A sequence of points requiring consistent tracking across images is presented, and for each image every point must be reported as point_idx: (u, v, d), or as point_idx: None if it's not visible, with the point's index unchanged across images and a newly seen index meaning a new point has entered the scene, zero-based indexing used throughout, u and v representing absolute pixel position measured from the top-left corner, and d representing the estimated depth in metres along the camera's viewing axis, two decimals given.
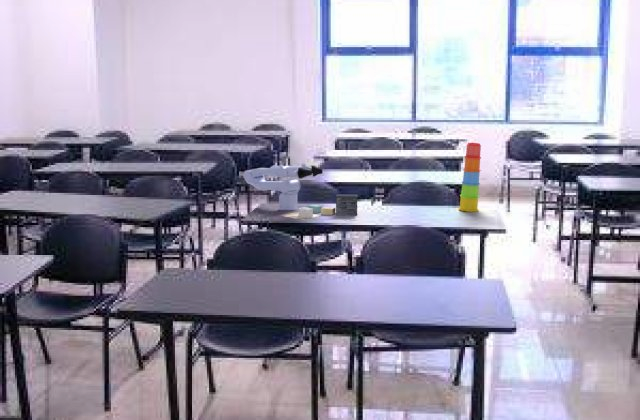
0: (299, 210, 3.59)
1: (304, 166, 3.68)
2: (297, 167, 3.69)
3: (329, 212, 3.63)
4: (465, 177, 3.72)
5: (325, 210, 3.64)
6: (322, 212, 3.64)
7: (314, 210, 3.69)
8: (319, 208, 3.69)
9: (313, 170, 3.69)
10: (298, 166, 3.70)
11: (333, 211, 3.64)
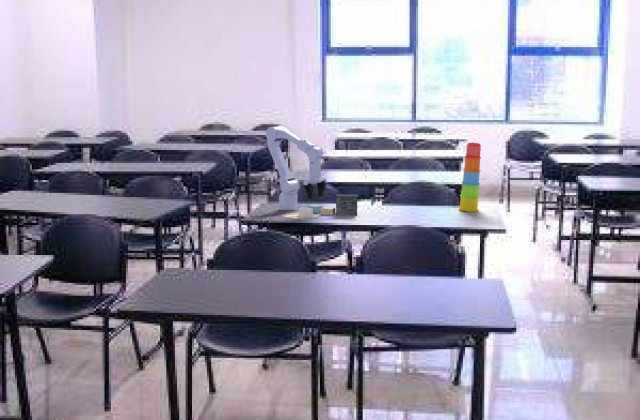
0: (299, 210, 3.59)
1: None
2: (316, 175, 3.65)
3: (329, 212, 3.63)
4: (465, 177, 3.72)
5: (325, 210, 3.63)
6: (322, 212, 3.64)
7: (314, 210, 3.69)
8: (319, 208, 3.69)
9: (320, 185, 3.71)
10: (318, 174, 3.66)
11: (333, 211, 3.64)
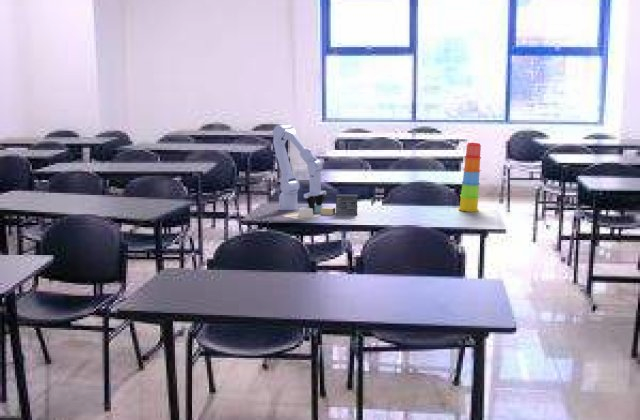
0: (299, 210, 3.59)
1: (319, 194, 3.68)
2: (316, 188, 3.66)
3: (329, 212, 3.63)
4: (465, 177, 3.72)
5: (325, 210, 3.63)
6: (322, 212, 3.64)
7: (314, 209, 3.69)
8: (319, 208, 3.69)
9: (318, 198, 3.72)
10: (318, 187, 3.67)
11: (333, 211, 3.64)
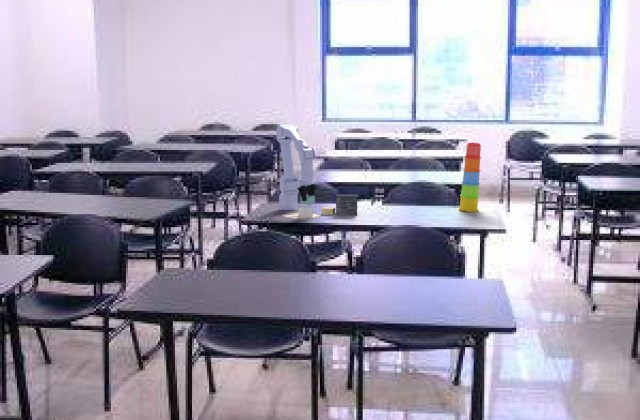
0: (299, 210, 3.59)
1: (311, 183, 3.57)
2: (308, 177, 3.55)
3: (329, 212, 3.63)
4: (465, 177, 3.72)
5: (325, 210, 3.63)
6: (322, 212, 3.64)
7: (306, 200, 3.57)
8: (312, 198, 3.58)
9: (310, 188, 3.60)
10: (310, 176, 3.55)
11: (333, 211, 3.64)
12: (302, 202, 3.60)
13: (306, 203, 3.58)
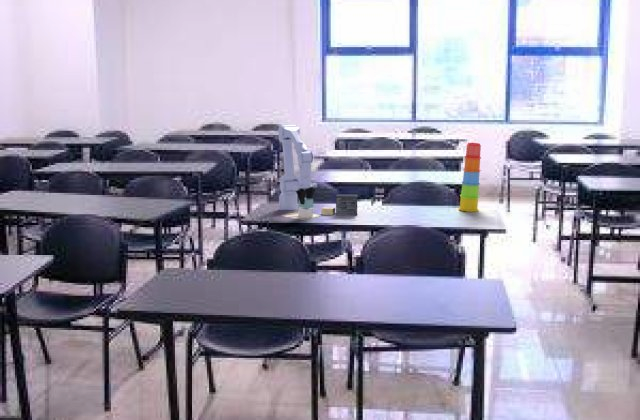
0: (299, 210, 3.59)
1: (309, 187, 3.55)
2: (306, 180, 3.53)
3: (329, 212, 3.63)
4: (465, 177, 3.72)
5: (325, 210, 3.63)
6: (322, 212, 3.64)
7: (304, 203, 3.56)
8: (310, 201, 3.56)
9: (309, 191, 3.59)
10: (308, 179, 3.54)
11: (333, 211, 3.64)
12: (300, 205, 3.58)
13: (304, 206, 3.56)
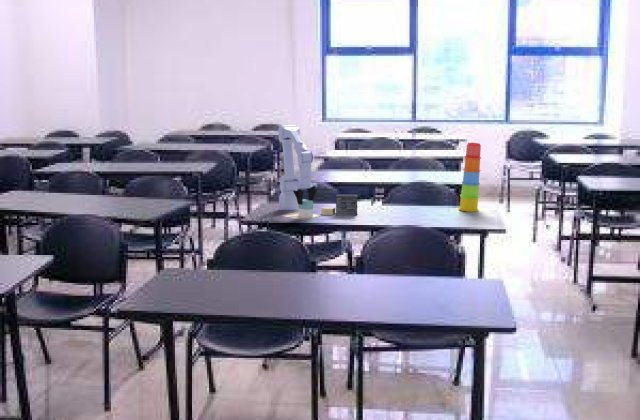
0: (299, 210, 3.59)
1: (309, 187, 3.55)
2: (306, 180, 3.53)
3: (329, 212, 3.63)
4: (465, 177, 3.72)
5: (325, 210, 3.63)
6: (322, 212, 3.64)
7: (304, 205, 3.56)
8: (310, 203, 3.56)
9: (311, 190, 3.60)
10: (308, 179, 3.54)
11: (333, 211, 3.64)
12: (300, 207, 3.58)
13: (304, 208, 3.56)
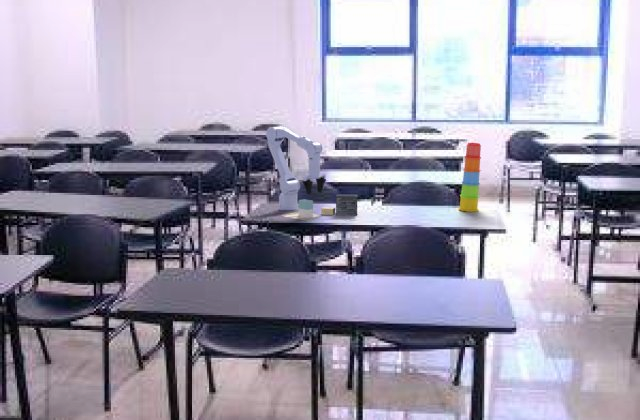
0: (299, 210, 3.59)
1: None
2: (315, 170, 3.63)
3: (330, 212, 3.63)
4: (465, 177, 3.72)
5: (325, 210, 3.63)
6: (322, 212, 3.64)
7: (304, 205, 3.56)
8: (310, 203, 3.56)
9: (320, 181, 3.70)
10: (317, 170, 3.64)
11: (333, 211, 3.64)
12: (300, 207, 3.58)
13: (304, 208, 3.56)
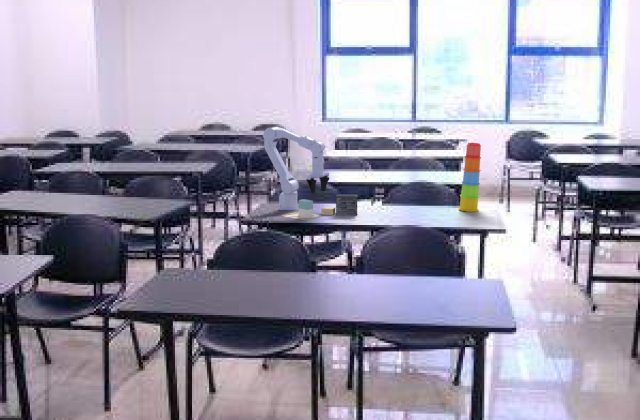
0: (299, 210, 3.59)
1: (322, 176, 3.69)
2: (319, 169, 3.67)
3: (330, 212, 3.63)
4: (465, 177, 3.72)
5: (325, 210, 3.63)
6: (322, 212, 3.64)
7: (304, 205, 3.56)
8: (310, 203, 3.56)
9: (323, 179, 3.74)
10: (321, 168, 3.68)
11: (333, 211, 3.64)
12: (300, 207, 3.58)
13: (304, 208, 3.56)
